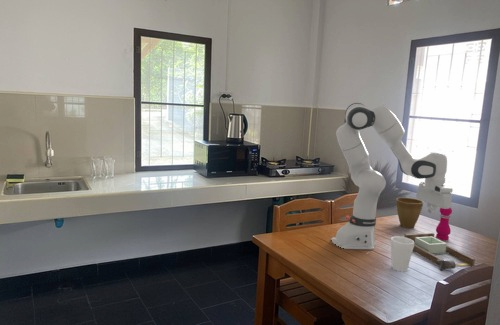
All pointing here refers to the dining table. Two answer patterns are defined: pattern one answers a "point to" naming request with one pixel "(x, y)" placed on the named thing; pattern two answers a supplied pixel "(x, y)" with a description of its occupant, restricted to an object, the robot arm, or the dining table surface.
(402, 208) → the plant pot
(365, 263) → the dining table surface
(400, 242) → the foam cup
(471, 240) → the dining table surface
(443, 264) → the bay
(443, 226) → the pepper mill
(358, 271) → the dining table surface
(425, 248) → the crate
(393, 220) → the dining table surface
